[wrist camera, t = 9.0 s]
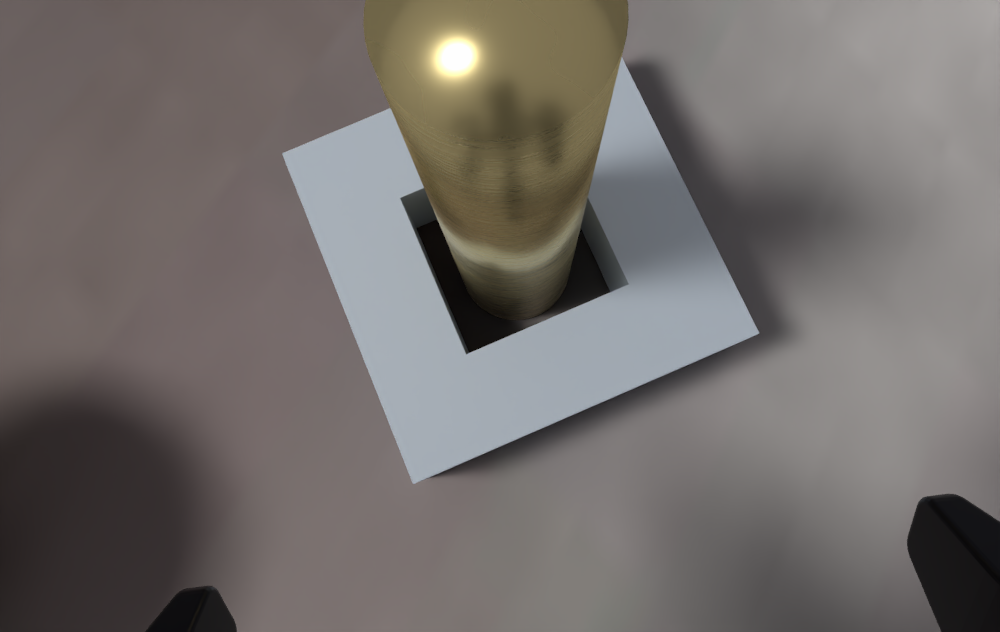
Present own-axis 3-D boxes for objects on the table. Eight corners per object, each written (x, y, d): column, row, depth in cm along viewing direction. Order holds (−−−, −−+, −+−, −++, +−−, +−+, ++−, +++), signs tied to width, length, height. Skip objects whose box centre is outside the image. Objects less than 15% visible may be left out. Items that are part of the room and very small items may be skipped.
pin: (591, 271, 23) (685, 21, 9) (510, 342, 23) (481, 193, 9) (520, 194, 24) (507, -151, 10) (440, 262, 23) (311, 7, 10)
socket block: (729, 347, 23) (759, 333, 20) (428, 478, 22) (413, 484, 19) (594, 70, 24) (602, 19, 21) (312, 188, 24) (282, 153, 21)
